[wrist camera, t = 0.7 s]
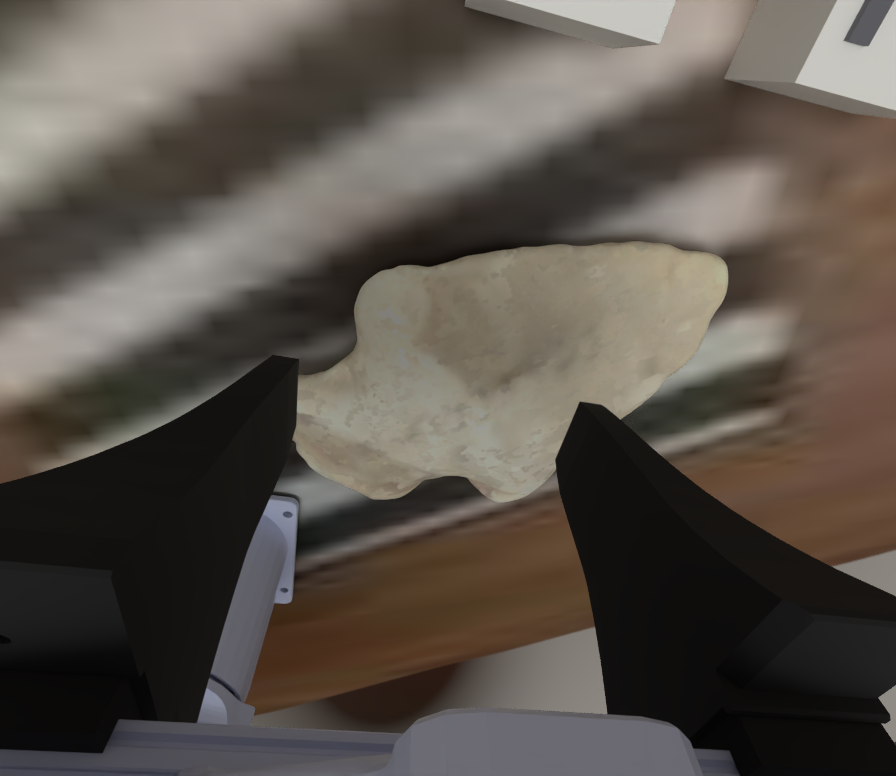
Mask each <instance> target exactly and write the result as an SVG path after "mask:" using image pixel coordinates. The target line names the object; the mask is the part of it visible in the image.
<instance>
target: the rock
mask: <svg viewBox="0 0 896 776" xmlns="http://www.w3.org/2000/svg"><path fill="white" fill-rule="evenodd" d="M727 286H728V269H727V265H726V264H725V262H724V260H722V259H721V258H720V257H719V256H717V255H714V254H711V253H707V252H700V251H687V250H681V249H678V248H676V247H673V246H671V245H669V244H665V243H650V242H643V241H630V242H625V243H613V242H608V243H601V244H594V245H589V246H572V245H567V244H553V245H545V246H539V247H519V248H515V249H507V250H499V251H493V252H488V253H483V254H476V255H470V256H465V257H462V258H459V259H456V260H453V261H450V262H447V263H443V264H440V265H436V266H432V267H424V266H419V265H400V266H397V267H395V268H393V269H388V270H382V271H380V272H378V273H377V274H375V275H374V276H372V277H371V278H370V279H368V280H367V281H366V282H365V283H364V285H363V286H362V287H361V289H360V291H359V294H358V297H357V299H356V302H355V306H354V317H355V323H356V333H357V344H356V346H355V348H354V350H353V351H352V353H350V354H349V355H348V356H346V357H345V358H344V359H342V360H341V361H340V362H339V363H337V364H336V365H334V366H333V367H332V368H330V369H329V370H326V371H323V372H318V373H315V374H311V375H298V394H297V423H296V429H295V432H294V436H293V439H292V440H293V441H295V442H296V449H297V451H298V453H299V454H300V455H301V456H302V457H303V458H304V459H305V460H306V462H307V464H308V465H309V466H310V467H311V468H312V469H313V470H314V471H316V472H317V473H319V474H320V475H322V476H323V477H325V478H327V479H330V480H332V481H335V482H337V483H339V484H341V485H343V486H345V487H348V488H350V489H353V490H355V491H357V492H359V493H362V494H364V495H365V496H367V497H369V498H371V499H382V500H386V499H394V498H399V497H402V496H404V495H406V494H407V493H409V492H410V491H411V490H413V489H414V488H415V487H416V486H418V485H419V484H420V483H421V482H422V481H424V480H426V479H432V478H438V477H442V476H461V477H466V478H468V479H469V481H470V482H471V483H472V484H473V485H474V486H475V487H476V488H477V489H478V490H479V491H480V492H481V493H482V494H483V495H485V496H486V497H487V498H489V499H491V500H493V501H495V502H508V501H512V500H516V499H520V498H523V497H525V496H527V495H529V494H530V493H531V492H533V491H534V490H535V489H537V488H538V487H540V486H541V485H542V484H543V483H544V482H546V481H547V479H548V478H549V477H550V476H551V475H552V474H553V473H554V471H555V470H556V463H555V459H556V456H557V454H558V452H559V449H560V447H561V445H562V442H563V440H564V437H565V435H566V433H567V430H568V428H569V426H570V423H571V421H572V419H573V416H574V414H575V411H576V409H577V407H578V404H579V402H580V401H581V402H587V403H594V404H601V405H603V406H604V407H606V408H607V409H608V410H610V411H611V412H612V413H613V414H614V415H616V416H617V417H618V418H619V419H620V420H621V419H622V418H623V417H624V416H626V415H627V414H629V413H631V412H632V411H633V410H634V409H636V408H637V407H639V406H640V405H642V404H643V403H644V402H645V401H646V400H647V399H648V398H650V397H651V396H652V395H653V394H654V393H656V392H657V390H658V389H659V388H660V387H661V385H662V383H663V382H664V381H665V379H666V378H668V377H669V376H670V375H672V374H674V373H675V372H676V371H678V370H679V369H680V368H682V367H683V366H684V365H685V364H686V363H687V362H688V361H689V360H690V359H691V358H692V357H693V356H694V354H695V353H696V352H697V350H698V349H699V347H700V345H701V342H702V340H703V338H704V336H705V334H706V332H707V329H708V325H709V322H710V320H711V318H712V317H713V315H714V313H715V312H716V310H717V309H718V308H719V306H720V305H721V304H722V302H723V300H724V297H725V294H726V292H727Z"/></svg>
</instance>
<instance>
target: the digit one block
mask: <svg viewBox="0 0 896 776" xmlns="http://www.w3.org/2000/svg"><path fill="white" fill-rule="evenodd" d="M675 2H676V0H466V1H465V6H464V7H468V8H471V9H475V10H479V11H482V12H486V13H489V14H493V15H496V16H500V17H503V18H507V19H511V20H514V21H518V22H521V23H525V24H528V25H532V26H535V27H539V28H542V29H546V30H550V31H553V32H557V33H560V34H564V35H567V36H571V37H574V38H578V39H582V40H585V41H589V42H592V43H596V44H599V45H603V46H606V47H610V48H623V47H634V46H645V45H656V44H660V42H661V39H662V36H663V34H664V31H665V28H666V26H667V23H668V20H669V18H670V15H671V12H672V10H673V7H674V4H675Z"/></svg>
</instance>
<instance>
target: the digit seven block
mask: <svg viewBox="0 0 896 776" xmlns="http://www.w3.org/2000/svg"><path fill="white" fill-rule="evenodd" d="M724 79H726V80H730V81H733V82H737V83H741V84H745V85H748V86H752V87H756V88H759V89H763V90H767V91H770V92H774V93H778V94H781V95H785V96H789V97H793V98H796V99H800V100H804V101H807V102H811V103H815V104H818V105H822V106H826V107H830V108H833V109H837V110H841V111H844V112H848V113H852V114H860V115H869V116H877V117H885V118H894V119H896V0H758V3H757V5H756V7H755V10H754V12H753V14H752V16H751V19H750V21H749V23H748V25H747V28H746V30H745V32H744V34H743V37H742V39H741V41H740V44H739V46H738V48H737V50H736V53H735V55H734V57H733V59H732V62H731V64H730V66H729V68H728V71H727V73H726V75H725V78H724Z"/></svg>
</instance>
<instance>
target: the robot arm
mask: <svg viewBox="0 0 896 776" xmlns="http://www.w3.org/2000/svg"><path fill="white" fill-rule="evenodd" d="M298 366H299V359H295V358H289V357H282V356H275V355H272V356H271V357H270V358H268V359H267V360H265V361H264V362H262V363H261V364H260V365H258V366H257V367H255V368H254V369H253V370H251V371H250V372H249V373H247V374H246V375H244V376H243V377H242V378H240V379H239V380H237V381H236V382H235V383H233V384H232V385H230V386H229V387H227V388H226V389H224V390H223V391H221V392H220V393H218V394H217V395H216V396H214V397H212V398H211V399H209V400H207V401H206V402H204V403H202V404H201V405H199V406H198V407H196V408H194V409H193V410H191V411H189V412H188V413H186V414H184V415H182V416H180V417H179V418H177V419H175V420H173V421H171V422H169V423H167V424H165V425H163V426H161V427H159V428H157V429H155V430H153V431H151V432H149V433H146V434H144V435H142V436H140V437H138V438H135V439H133V440H130V441H128V442H125V443H123V444H120V445H118V446H115V447H113V448H110V449H108V450H105V451H103V452H100V453H98V454H95V455H93V456H90V457H87V458H84V459H81V460H78V461H76V462H73V463H70V464H67V465H64V466H61V467H57V468H54V469H51V470H48V471H45V472H41V473H38V474H35V475H31V476H28V477H24V478H21V479H17V480H13V481H10V482H6V483H2V484H0V776H896V742H893V740H892V739H891V737H890V736H889V735H888V733H887V732H886V730H885V729H884V727H883V726H882V724H881V723H884V724H885V723H887V722H889V721H890V714H889V713H888V711H887V710H886V708H885V707H884V706H883V704H882V703H881V701H880V700H879V699H878V697H879V696H881V695H882V694H884V693H885V692H886V691H888V690H889V689H891V688H892V687H893V686H895V685H896V597H895V596H894V595H892V594H890V593H887V592H885V591H883V590H881V589H879V588H876V587H874V586H872V585H870V584H868V583H865V582H863V581H861V580H859V579H857V578H854V577H852V576H850V575H848V574H846V573H843V572H841V571H839V570H837V569H835V568H833V567H831V566H829V565H827V564H825V563H823V562H821V561H819V560H817V559H815V558H813V557H811V556H810V555H808V554H806V553H804V552H802V551H800V550H798V549H796V548H794V547H793V546H791V545H789V544H787V543H785V542H784V541H782V540H780V539H778V538H776V537H775V536H773V535H771V534H770V533H768V532H766V531H765V530H763V529H761V528H760V527H758V526H756V525H755V524H753V523H751V522H750V521H748V520H747V519H745V518H743V517H742V516H740V515H739V514H737V513H736V512H734V511H733V510H731V509H730V508H728V507H727V506H725V505H724V504H723V503H721V502H720V501H718V500H717V499H715V498H714V497H713V496H711V495H710V494H708V493H707V492H705V491H704V490H703V489H701V488H700V487H699V486H697V485H696V484H695V483H694V482H692V481H691V480H690V479H689V478H687V477H686V476H685V475H684V474H682V473H681V472H680V471H679V470H677V469H676V468H675V467H674V466H672V465H671V464H670V463H669V462H668V461H667V460H665V459H664V458H663V457H662V456H661V455H660V454H658V453H657V452H656V451H655V450H654V449H653V448H652V447H650V446H649V445H648V444H647V443H646V442H645V441H644V440H643V439H641V438H640V437H639V436H638V435H637V434H636V433H635V432H634V431H633V430H631V429H630V428H629V427H628V426H627V425H626V424H625V423H624V422H622V421H621V420H620V419H619V418H618V417H617V416H616V415H614V414H613V413H612V412H611V411H610V410H608V409H607V408H606V407H604V406H603V405H601V404H594V403H587V402H581V401H580V402H579V404H578V407H577V409H576V411H575V414H574V416H573V419H572V421H571V423H570V426H569V428H568V430H567V433H566V435H565V437H564V440H563V442H562V445H561V447H560V449H559V452H558V454H557V456H556V459H555V463H556V470H557V478H558V484H559V490H560V495H561V498H562V502H563V505H564V508H565V512H566V515H567V518H568V522H569V525H570V528H571V531H572V535H573V538H574V541H575V544H576V548H577V551H578V554H579V557H580V560H581V564H582V567H583V571H584V574H585V578H586V582H587V586H588V591H589V597H590V602H591V607H592V612H593V617H594V623H595V629H596V635H597V641H598V647H599V653H600V659H601V667H602V674H603V682H604V690H605V696H606V705H607V714H592V713H574V712H558V711H541V710H525V709H507V708H491V707H476V708H462V709H461V708H460V709H447V710H444V711H441V712H438V713H435V714H432V715H429V716H427V717H423V718H421V719H418V720H417V721H416V722H415V723H414V724H413V725H412V726H411V727H410V728H409V729H408V730H407V731H406V732H405V733H404V734H397V733H378V732H358V731H339V730H319V729H299V728H280V727H261V726H251V722H252V719H253V715H254V711H255V707H253V706H251V705H248V704H245V703H244V701H245V699H246V697H247V695H248V692H249V689H250V686H251V682H252V679H253V675H254V672H255V668H256V665H257V662H258V658H259V655H260V651H261V648H262V644H263V641H264V637H265V634H266V631H267V627H268V624H269V620H270V617H271V613H272V610H273V606H274V603H282V604H287V603H290V602H291V601H292V597H293V588H294V573H295V557H296V542H297V526H298V510H299V503H298V501H297V500H296V499H294V498H291V497H284V496H276V495H271V494H272V492H273V490H274V488H275V485H276V483H277V481H278V478H279V476H280V474H281V472H282V469H283V467H284V465H285V462H286V460H287V457H288V453H289V450H290V446H291V443H292V439H293V436H294V432H295V429H296V423H297V394H298ZM287 511H288V512H287Z"/></svg>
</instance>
